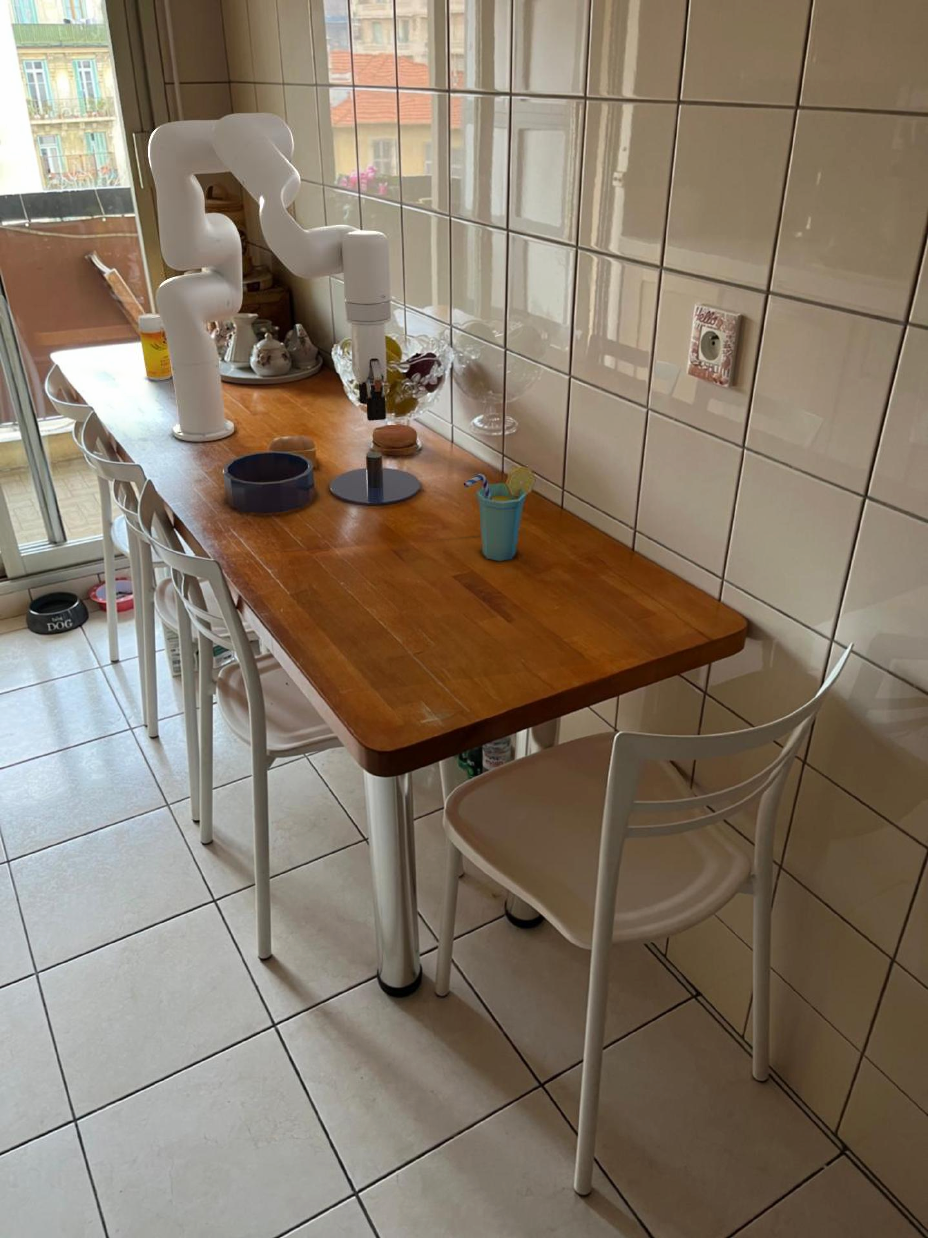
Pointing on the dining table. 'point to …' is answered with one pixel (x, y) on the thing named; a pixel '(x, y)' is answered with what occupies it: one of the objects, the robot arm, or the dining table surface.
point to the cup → (502, 512)
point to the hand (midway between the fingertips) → (372, 410)
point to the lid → (374, 484)
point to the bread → (295, 446)
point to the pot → (269, 496)
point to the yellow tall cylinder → (154, 346)
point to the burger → (395, 440)
